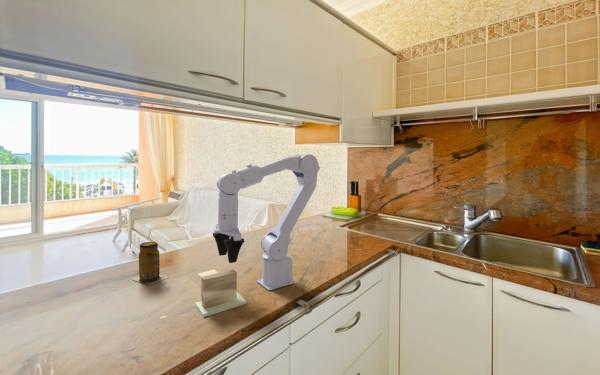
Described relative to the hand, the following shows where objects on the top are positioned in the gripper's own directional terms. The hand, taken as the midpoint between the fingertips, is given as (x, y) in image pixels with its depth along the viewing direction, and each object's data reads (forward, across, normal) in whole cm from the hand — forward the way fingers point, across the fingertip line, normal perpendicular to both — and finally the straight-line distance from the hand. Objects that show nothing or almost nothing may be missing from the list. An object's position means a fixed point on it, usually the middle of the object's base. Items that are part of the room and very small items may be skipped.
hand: (227, 258), depth 84 cm
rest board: (+10, +6, -4) cm, 13 cm away
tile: (+10, -8, 0) cm, 13 cm away
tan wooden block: (+10, +6, -5) cm, 13 cm away
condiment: (+11, -23, -17) cm, 31 cm away
